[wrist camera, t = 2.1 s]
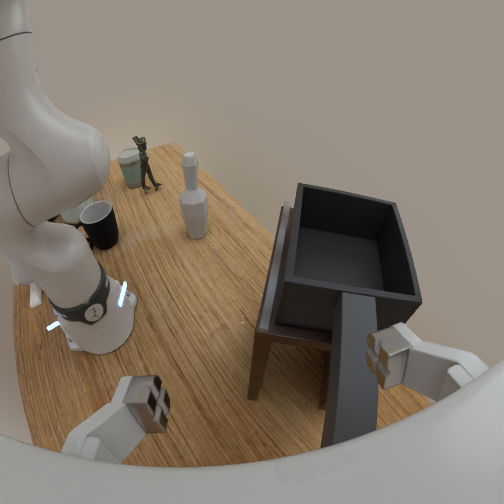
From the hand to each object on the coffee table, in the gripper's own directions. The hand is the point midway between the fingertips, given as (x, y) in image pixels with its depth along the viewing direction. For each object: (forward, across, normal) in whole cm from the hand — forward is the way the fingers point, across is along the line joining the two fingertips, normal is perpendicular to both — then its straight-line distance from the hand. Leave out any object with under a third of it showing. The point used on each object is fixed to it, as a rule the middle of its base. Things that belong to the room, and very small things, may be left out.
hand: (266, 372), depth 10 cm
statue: (+78, +24, -5) cm, 82 cm away
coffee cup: (+84, +31, -10) cm, 90 cm away
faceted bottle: (+61, +10, +7) cm, 62 cm away
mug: (+59, +36, +4) cm, 69 cm away
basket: (+12, -7, +7) cm, 16 cm away
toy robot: (+46, +51, +9) cm, 69 cm away
